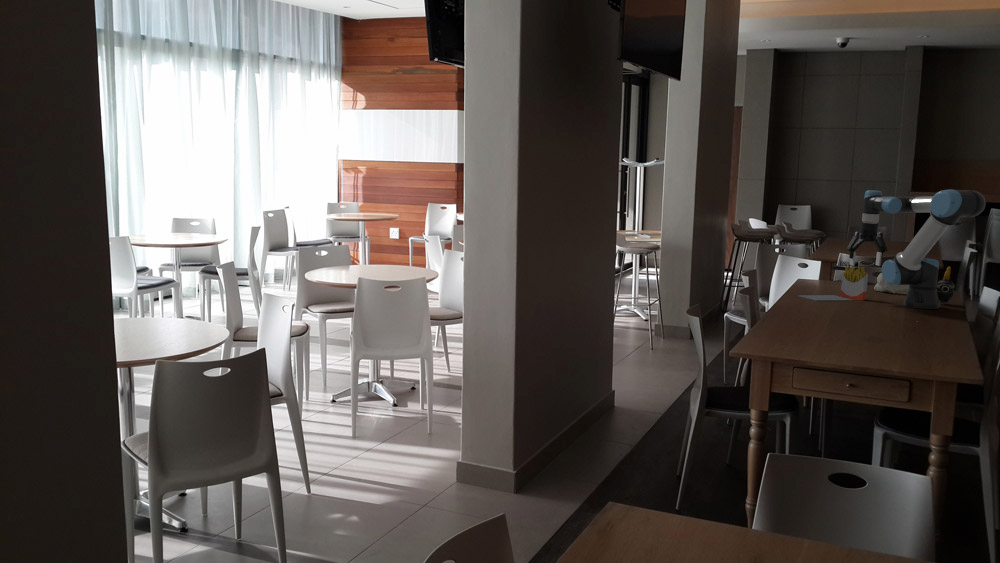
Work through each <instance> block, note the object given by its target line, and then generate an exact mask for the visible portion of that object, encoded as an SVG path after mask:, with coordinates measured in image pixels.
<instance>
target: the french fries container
mask: <svg viewBox="0 0 1000 563" xmlns="http://www.w3.org/2000/svg"><path fill="white" fill-rule="evenodd" d="M851 266H852V268H849V267H845V272H843V279H842V281H841V287H840V296H839V297H843V298H848V299H852V300H855V301H856V300H857V301H865V300H867V294H868V293H867V292H868V291H867V290H868V283H869V282H868V281H869V280H868V279H869V273H868V271H865V270H866V269H865V268H866V267H865V266H859V267H858V269H856V270H855V273H854V269H855V266H853V265H851ZM860 267H861V271H860Z"/></svg>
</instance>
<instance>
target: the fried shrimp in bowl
mask: <svg viewBox="0 0 1000 563" xmlns="http://www.w3.org/2000/svg"><path fill="white" fill-rule="evenodd" d="M951 269H952V268H951V266H947V267H946V271H945V272H944V275H943V278H942V279H941V280H939V281H938V282H937V295H938V299H939V303H941V304H942V303H943V304H946V303H949V301H950V300H951V299H952V298H953V296H954V293H956V292H955V288H956V287H955V286H956V285H955V284H954V282H953V281H951V280H950V276H951V272H952V271H951Z"/></svg>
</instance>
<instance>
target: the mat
mask: <svg viewBox="0 0 1000 563" xmlns="http://www.w3.org/2000/svg"><path fill="white" fill-rule="evenodd" d="M797 297H800V298H802V299H807V300H812V301H814V302H850V301H851V302H854V299H848V298H843V297H840V296H839V295H835V294H832V295H831V294H828V295H827V294H826V295H825V294H823V295H822V294H821V295H820V294H818V295H816V294H815V295H814V294H807V295H805V294H803V295H802V294H800V295H799V294H798V295H797Z"/></svg>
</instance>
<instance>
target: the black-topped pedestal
mask: <svg viewBox="0 0 1000 563" xmlns="http://www.w3.org/2000/svg"><path fill="white" fill-rule="evenodd" d="M852 266H853V265H850V261H847V260H844V261H843V260H838V265H832V267H831V269H832V270H833V271H835V270H836V271H835V272H836V273H835V281H841V282H842V279H843V272H845V267H849V268H852ZM854 266H855V269H854V273H855V270H856V269H858V267H860V272H861V267H862V266H860V261H855V265H854Z"/></svg>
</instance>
